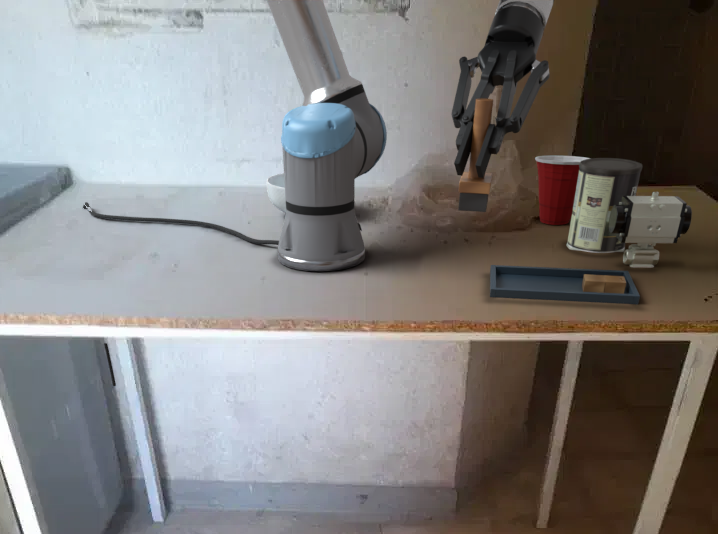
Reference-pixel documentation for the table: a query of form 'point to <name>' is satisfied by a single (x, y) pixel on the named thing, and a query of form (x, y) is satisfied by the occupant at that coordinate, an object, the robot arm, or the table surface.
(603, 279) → the brown wooden block
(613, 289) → the small wooden block
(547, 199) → the plastic cup
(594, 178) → the coffee can
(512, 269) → the tray
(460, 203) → the brush
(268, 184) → the cereal bowl
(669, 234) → the pneumatic valve
